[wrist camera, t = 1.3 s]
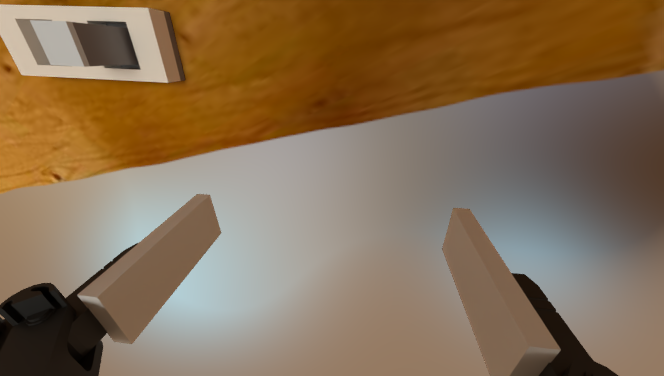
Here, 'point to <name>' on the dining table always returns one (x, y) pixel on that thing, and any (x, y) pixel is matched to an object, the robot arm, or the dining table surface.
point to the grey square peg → (85, 44)
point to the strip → (143, 24)
